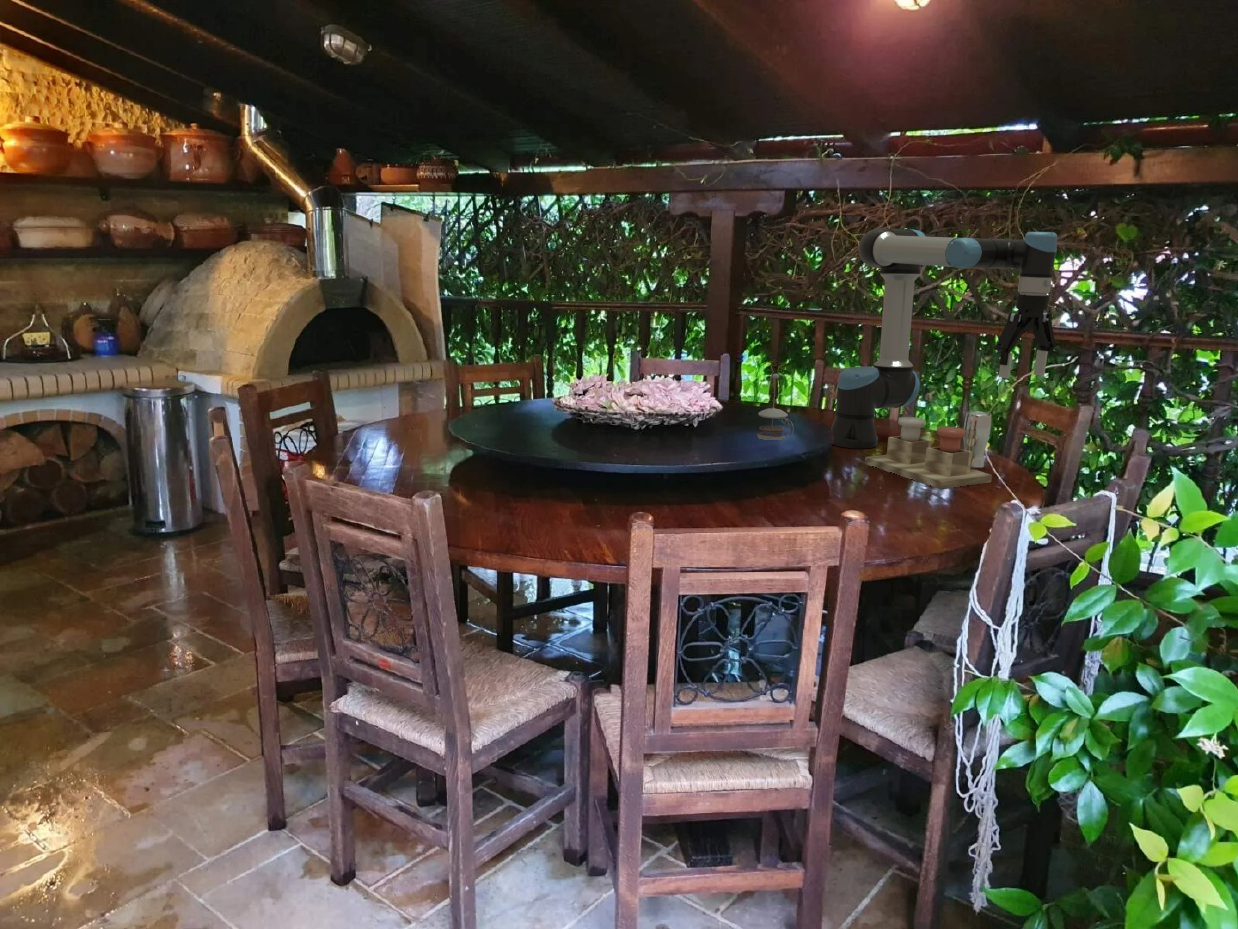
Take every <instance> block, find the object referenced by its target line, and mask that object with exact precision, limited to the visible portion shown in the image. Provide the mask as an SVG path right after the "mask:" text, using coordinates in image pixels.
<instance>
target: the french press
mask: <svg viewBox="0 0 1238 929" xmlns="http://www.w3.org/2000/svg"><path fill="white" fill-rule="evenodd" d="M771 378H772V379H774V385H776V383H777V382H776V379H779V378H780V374H779V373H773V374H772V375H771ZM773 391H774V392H773V400H775V396H776V386H774V390H773ZM772 403H773V405H772V407H771V408H765V409H762V410H760V411H759V412H758V416H759V417H761V418H766V419H772V421H771V425H761V426H759V427H758V429H759V430H760V431H758V432H757V437H758V438H759V439H763V440H782V441H783V439H786V438H787V436H788V437H789V436H790V432H791V436H792V437H793V435H794V424H793V422H792V421H791V419H789V418H788V416H789V415H788V413H787V412H785V411H784V410H782V409H778V408H775V401H773V402H772ZM774 419H776V420H777V419H781V423H782V424H786V423H788V424H787V425H788V434H787V436H786V433H783V432H785V430H786V429H785V428H784V427H783V426H778V425H773V424H774ZM783 420H784V421H783ZM790 424H791V425H790ZM791 427H792V430H791ZM768 435H769V436H768ZM774 436H780V437H774Z"/></svg>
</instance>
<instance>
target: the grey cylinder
mask: <svg viewBox="0 0 1238 929" xmlns="http://www.w3.org/2000/svg"><path fill="white" fill-rule="evenodd" d="M897 424H898V425H899V426H901V429H900V436H901V437H900V439H901V440H904V441H908V442H915V441H919V438H921V428H924V427H925V426H926V425H925V424H926V419H924V418H922V417H921V418H920V417H915V416H914V417H913V416H900V417H899V418H898V422H897Z"/></svg>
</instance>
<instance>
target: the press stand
mask: <svg viewBox="0 0 1238 929" xmlns="http://www.w3.org/2000/svg"><path fill="white" fill-rule="evenodd" d="M900 437H901V435H896V436H888V440H887V447H886V449H887V450H886V454H883V455H882V454H881V455H875V456H865V458H864V465H866V466H869V467H872V466H874V467H873V468H875V467H877V468H876V469H878V468H879V469H878V470H882V471H884V472H887V473H890V472H892V473H891V474H893V473H895V474H894V475H896V474H897V475H896V476H899V475H900V477H903V478H905V479H909V480H911V479H913V480H912V481H914V480H915V482H917V481H918V483H920V484H924V485H926V486H927V485H928V486H930V485H931V487H933V488H935V489H940V490H948V489H954V487H955V488H960V486H962V487H968V486H967V485H969V486H974V485H982V484H988V483H992V480H993V479H992V478H993V474H989V473H986V472H983V471H981V470H976V469H974V468H970V466H971V458H972V452H971V451H967V450H964V448H960V450H959V452H957V453H947V452H944V451H940V450H939V446H940V445H939V446H932V440H929V439H927V438H922V437H920V438H919V441H915V442H908V441H904V440H901V439H900ZM947 488H948V489H947Z"/></svg>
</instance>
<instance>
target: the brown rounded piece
mask: <svg viewBox="0 0 1238 929" xmlns="http://www.w3.org/2000/svg"><path fill="white" fill-rule="evenodd" d="M936 434H937V435H938V436H940V438H939V439H940V440H939V450H940V451H944V452H947V453H957V452H959V450H960V449H961V443H962V442H961V440H962V439H964V437H965V435H966V430H965V429H964V428H961V427H954V426H938V427H937V430H936Z"/></svg>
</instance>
